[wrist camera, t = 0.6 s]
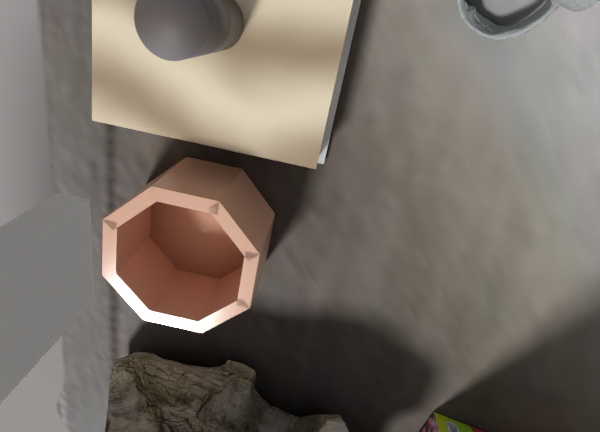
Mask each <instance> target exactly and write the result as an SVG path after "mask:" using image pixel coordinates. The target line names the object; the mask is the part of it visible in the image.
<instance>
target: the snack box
mask: <svg viewBox="0 0 600 432" xmlns="http://www.w3.org/2000/svg"><path fill="white" fill-rule="evenodd" d="M420 432H485V431H482V430H479V429H477V428H474V427H471V426H469V425H466V424H464V423H461V422H458V421H456V420H453V419H451V418H448V417H446V416H443V415H440V414H438V413H436V412H433V414H432V415H431V416H430V418H429V419H428V421H427V422H426V424H425V425H424V427H423V428H422V429H421V431H420Z"/></svg>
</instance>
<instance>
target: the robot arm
mask: <svg viewBox="0 0 600 432" xmlns="http://www.w3.org/2000/svg"><path fill="white" fill-rule="evenodd" d="M94 299H95V295H94V276H93V256H92V237H91V217H90V199H86V198H81V197H75V196H70V195H65V194H59V193H56V194H54V195H53V196H51V197H49V198H48V199H46V200H44V201H43V202H41V203H39V204H38V205H36V206H35V207H33V208H31V209H29V210H28V211H26V212H24V213H23V214H21V215H20V216H18V217H17V218H15V219H13V220H11V221H10V222H8V223H6V224H5V225H3V226H1V227H0V403H1V402H2V401H3V400H4V399H5V398H6V397H7V396H8V394H10V392H11V391H12V390H13V389H14V388H15V387H16V386H17V385H18V384H19V382H20V381H21V380H22V379H23V378H24V377H25V376H26V375H27V374H28V372H29V371H30V370H31V369H32V368H33V367H34V366H35V365H36V364H37V362H38V361H39V360H40V359H41V358H42V357H43V356H44V355H45V354H46V352H47V351H48V350H49V349H50V348H51V347H52V346H53V345H54V344H55V342H56V341H57V340H58V339H59V338H60V337H61V336H62V335H63V334H64V333H65V331H66V330H67V329H68V328H69V327H70V326H71V325H72V324H73V323H74V322H75V320H76V319H77V318H78V317H79V316H80V315H81V314H82V313H83V312H84V310H85V309H86V308H87V307H88V306H89V305H90V304H91V303H92V302H93V300H94Z"/></svg>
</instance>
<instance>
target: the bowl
mask: <svg viewBox="0 0 600 432" xmlns="http://www.w3.org/2000/svg"><path fill="white" fill-rule="evenodd" d="M274 217H275V213H274V212H273V210H272V209H271V207H270V206H269V205H268V203H267V202H266V201H265V199H264V198H263V196H262V195H261V194H260V192H259V191H258V190H257V188H256V187H255V185H254V184H253V183H252V181H251V180H250V179H249V177H248V176H247V174H246V173H245V172H244V170H243V169H241V168H236V167H232V166H227V165H223V164H218V163H214V162H209V161H205V160H200V159H195V158H191V157H185V158H184V159H182V160H181V161H180V162H178V163H177V164H175V165H174V166H172V167H171V168H169V169H168V170H166V171H165V172H164V173H162V174H161V175H159V176H158V177H156V178H155V179H153V180H152V181H151V182H149V183H148V184H146V185H145V186H143V187H142V188H141V189H140V190H138V191H137V192H136V193H135V194H133V195H132V196H131V197H130V198H128V199H127V200H126V201H125V202H124V203H122V204H121V205H120V206H119V207H117V208H116V209H115V210H114V211H112V212H111V213H110V214H109V215H107V216H106V217H105V218H104V219H103V260H102V275H103V276H104V278H105V279H106V280H107V281H108V282H109V283H110V284H111V285H112V286H113V287H114V288H115V290H116V291H117V292H118V293H119V294H120V295H121V296H122V297H123V298H124V299H125V301H126V302H127V303H128V304H129V305H130V306H131V307H132V308H133V309H134V310H135V311H136V313H137V314H138V315H139V316H140V317H141V318H142V319H143V320H145V321H150V322H154V323H159V324H163V325H168V326H172V327H176V328H181V329H185V330H190V331H194V332H199V333H204V332H205V331H207V330H209V329H211V328H213V327H215V326H217V325H219V324H221V323H223V322H224V321H226V320H228V319H230V318H232V317H234V316H236V315H238V314H240V313H242V312H244V311H245V310H247V309H249V308H250V307H251V304H252V301H253V298H254V295H255V292H256V290H257V287H258V284H259V281H260V278H261V275H262V272H263V269H264V266H265V263H266V259H267V254H268V249H269V243H270V238H271V233H272V227H273V222H274Z"/></svg>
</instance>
